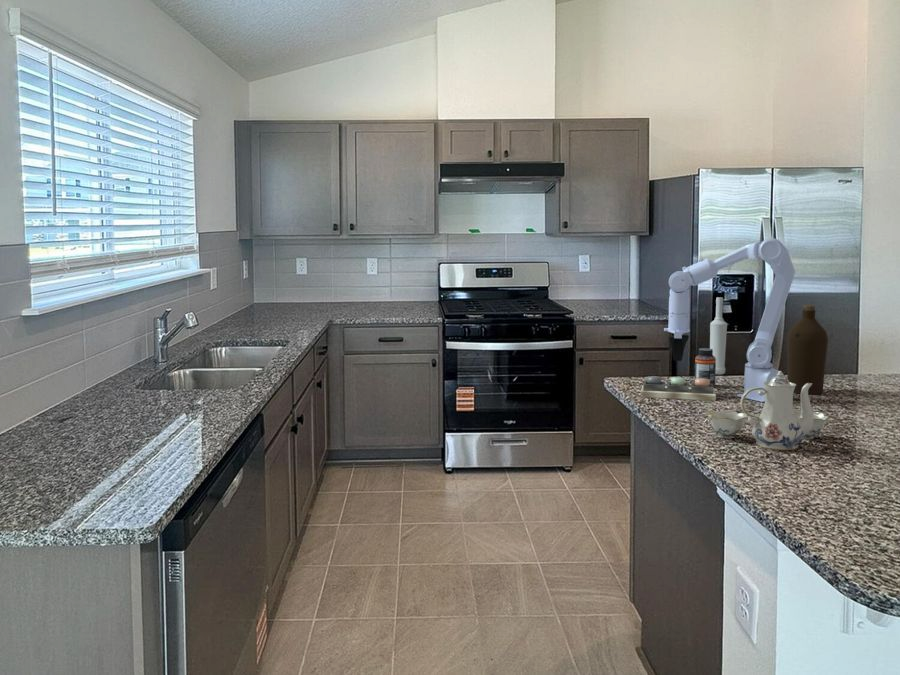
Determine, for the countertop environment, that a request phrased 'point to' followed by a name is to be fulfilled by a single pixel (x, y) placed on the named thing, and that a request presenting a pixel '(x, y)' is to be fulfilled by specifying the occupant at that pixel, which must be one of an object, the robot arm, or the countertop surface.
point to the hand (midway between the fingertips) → (677, 360)
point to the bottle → (718, 337)
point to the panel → (678, 391)
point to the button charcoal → (654, 380)
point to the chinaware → (774, 417)
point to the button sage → (678, 381)
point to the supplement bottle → (705, 365)
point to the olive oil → (807, 353)
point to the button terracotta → (702, 382)
